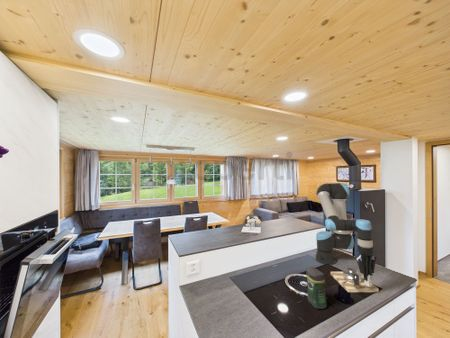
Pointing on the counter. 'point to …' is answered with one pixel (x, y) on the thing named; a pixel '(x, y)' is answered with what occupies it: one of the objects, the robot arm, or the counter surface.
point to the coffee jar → (316, 288)
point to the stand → (350, 286)
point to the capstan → (352, 277)
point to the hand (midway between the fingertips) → (368, 285)
